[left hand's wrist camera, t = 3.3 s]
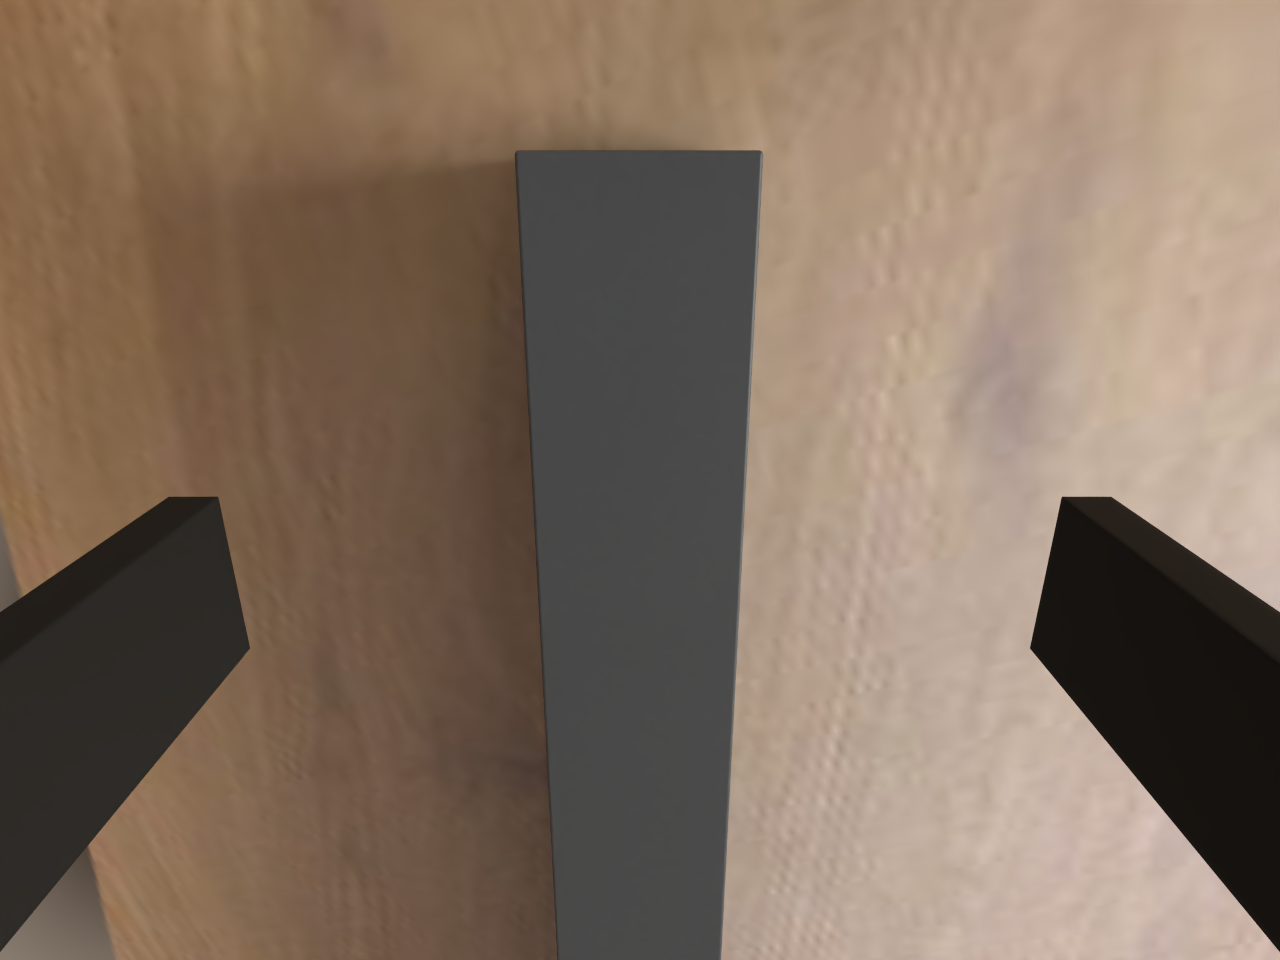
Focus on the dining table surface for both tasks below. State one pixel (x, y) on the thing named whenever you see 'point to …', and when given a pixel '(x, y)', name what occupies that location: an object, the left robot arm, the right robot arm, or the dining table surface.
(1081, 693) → the left robot arm
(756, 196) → the beam
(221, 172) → the dining table surface
